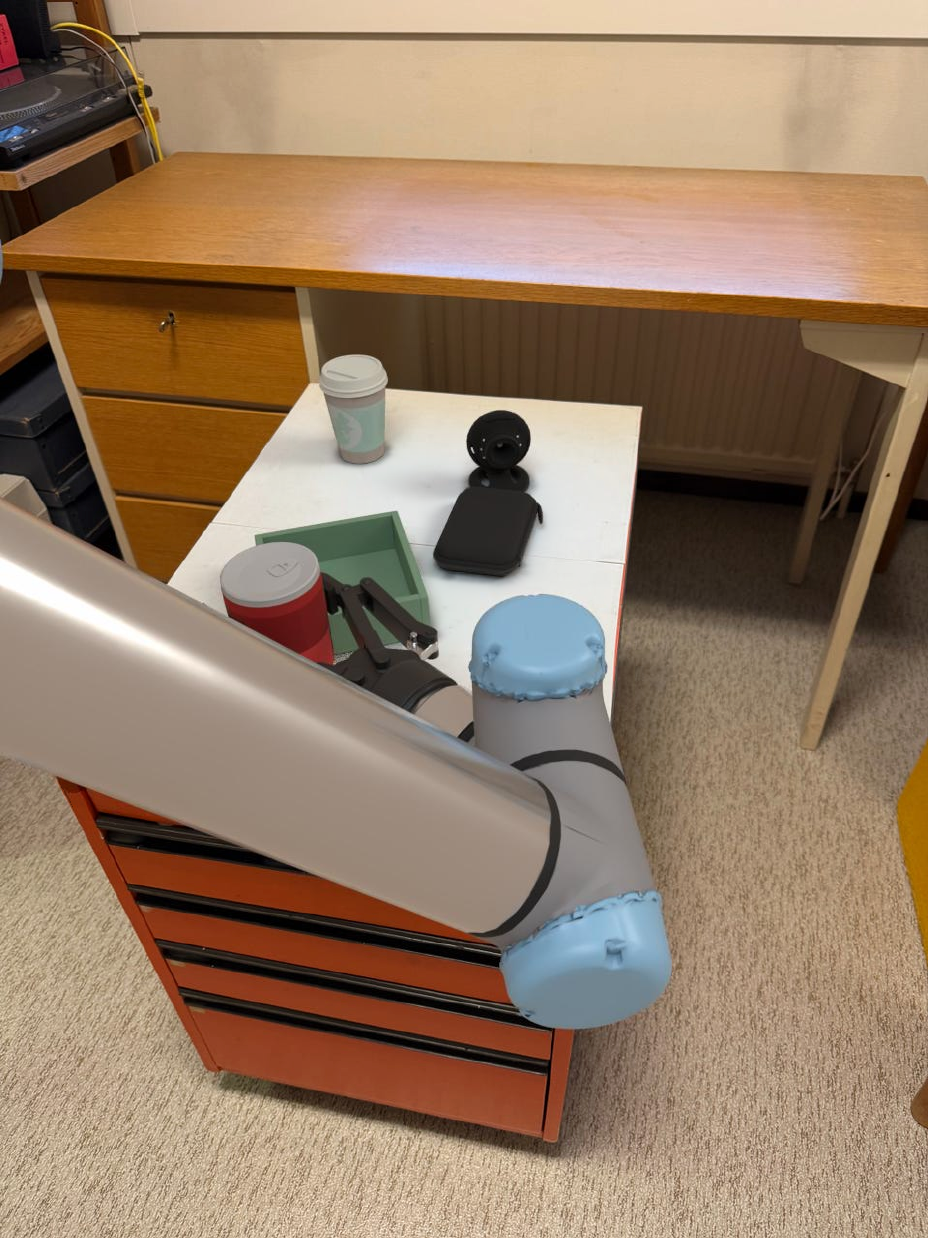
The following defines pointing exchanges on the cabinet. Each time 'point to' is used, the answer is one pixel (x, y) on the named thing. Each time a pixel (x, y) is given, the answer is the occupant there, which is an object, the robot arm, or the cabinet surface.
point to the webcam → (499, 450)
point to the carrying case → (487, 531)
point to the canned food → (280, 597)
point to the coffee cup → (356, 405)
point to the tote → (363, 565)
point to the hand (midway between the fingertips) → (246, 592)
